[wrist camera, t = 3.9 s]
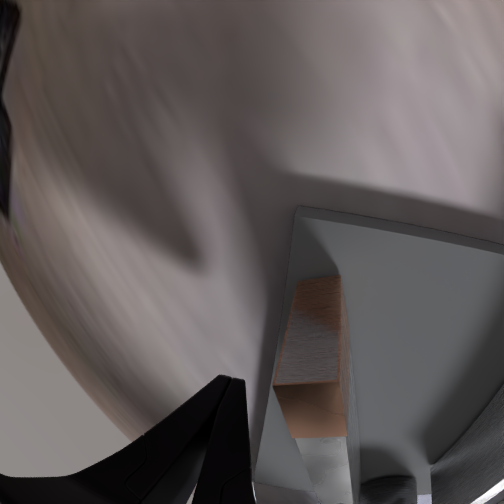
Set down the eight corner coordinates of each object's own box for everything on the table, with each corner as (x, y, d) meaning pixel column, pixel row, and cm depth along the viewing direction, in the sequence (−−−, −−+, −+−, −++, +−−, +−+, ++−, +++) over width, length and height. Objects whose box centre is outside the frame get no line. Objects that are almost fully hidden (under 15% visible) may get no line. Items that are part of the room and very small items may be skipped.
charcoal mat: (470, 478, 14) (472, 488, 13) (256, 470, 17) (252, 481, 17) (618, 277, 6) (627, 287, 6) (298, 205, 10) (294, 215, 9)
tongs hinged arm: (412, 493, 14) (411, 543, 10) (343, 500, 16) (336, 549, 12) (455, 255, 8) (512, 347, 4) (297, 281, 9) (272, 385, 6)
